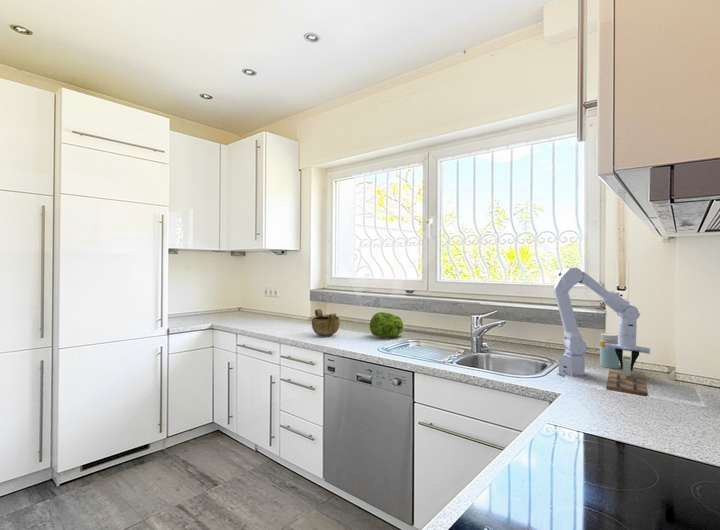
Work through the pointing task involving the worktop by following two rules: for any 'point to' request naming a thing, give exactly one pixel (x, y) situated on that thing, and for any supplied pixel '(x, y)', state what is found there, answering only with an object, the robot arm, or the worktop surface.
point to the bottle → (608, 351)
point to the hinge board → (627, 383)
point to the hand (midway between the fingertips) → (626, 369)
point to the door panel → (626, 365)
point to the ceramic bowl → (325, 324)
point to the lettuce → (386, 325)
